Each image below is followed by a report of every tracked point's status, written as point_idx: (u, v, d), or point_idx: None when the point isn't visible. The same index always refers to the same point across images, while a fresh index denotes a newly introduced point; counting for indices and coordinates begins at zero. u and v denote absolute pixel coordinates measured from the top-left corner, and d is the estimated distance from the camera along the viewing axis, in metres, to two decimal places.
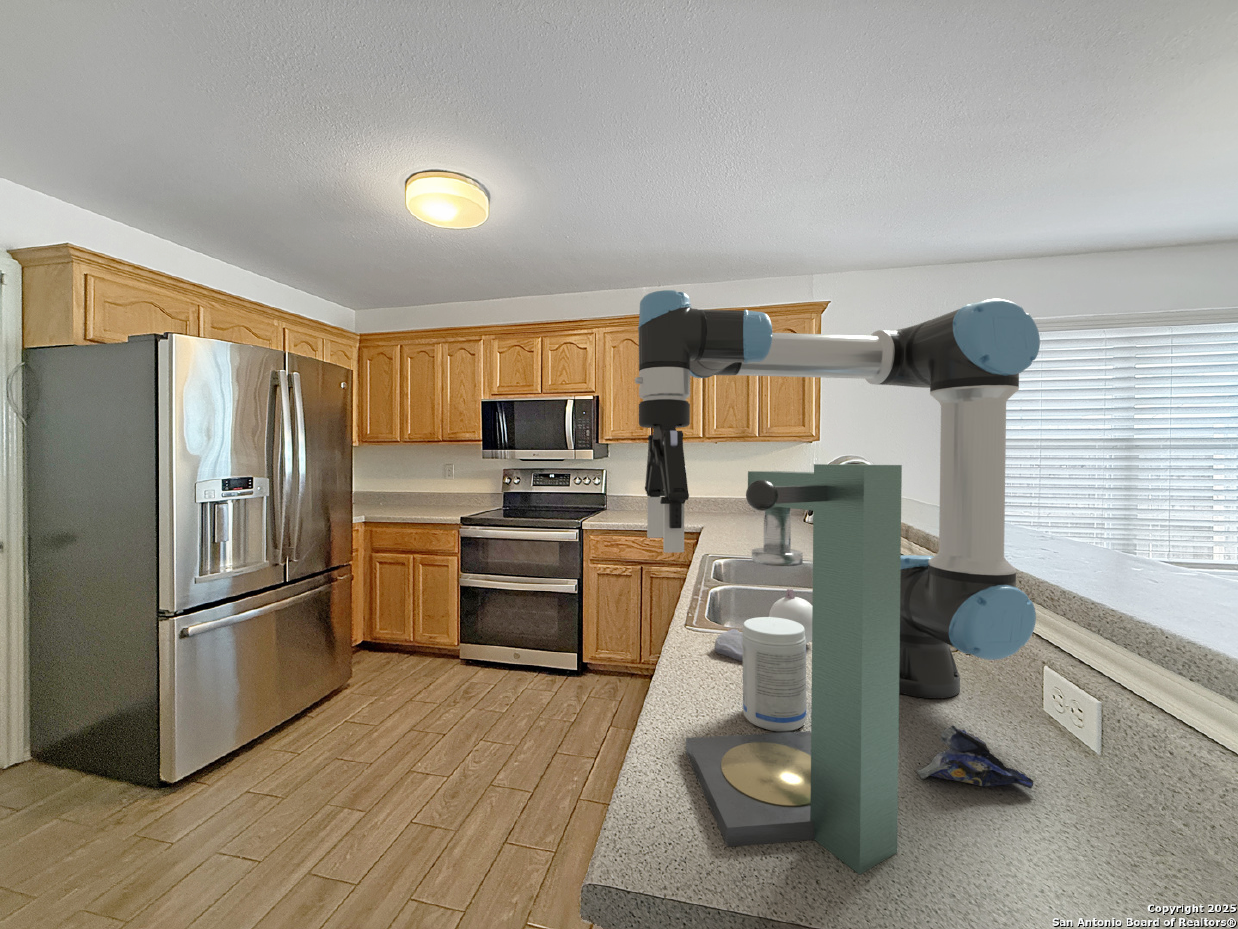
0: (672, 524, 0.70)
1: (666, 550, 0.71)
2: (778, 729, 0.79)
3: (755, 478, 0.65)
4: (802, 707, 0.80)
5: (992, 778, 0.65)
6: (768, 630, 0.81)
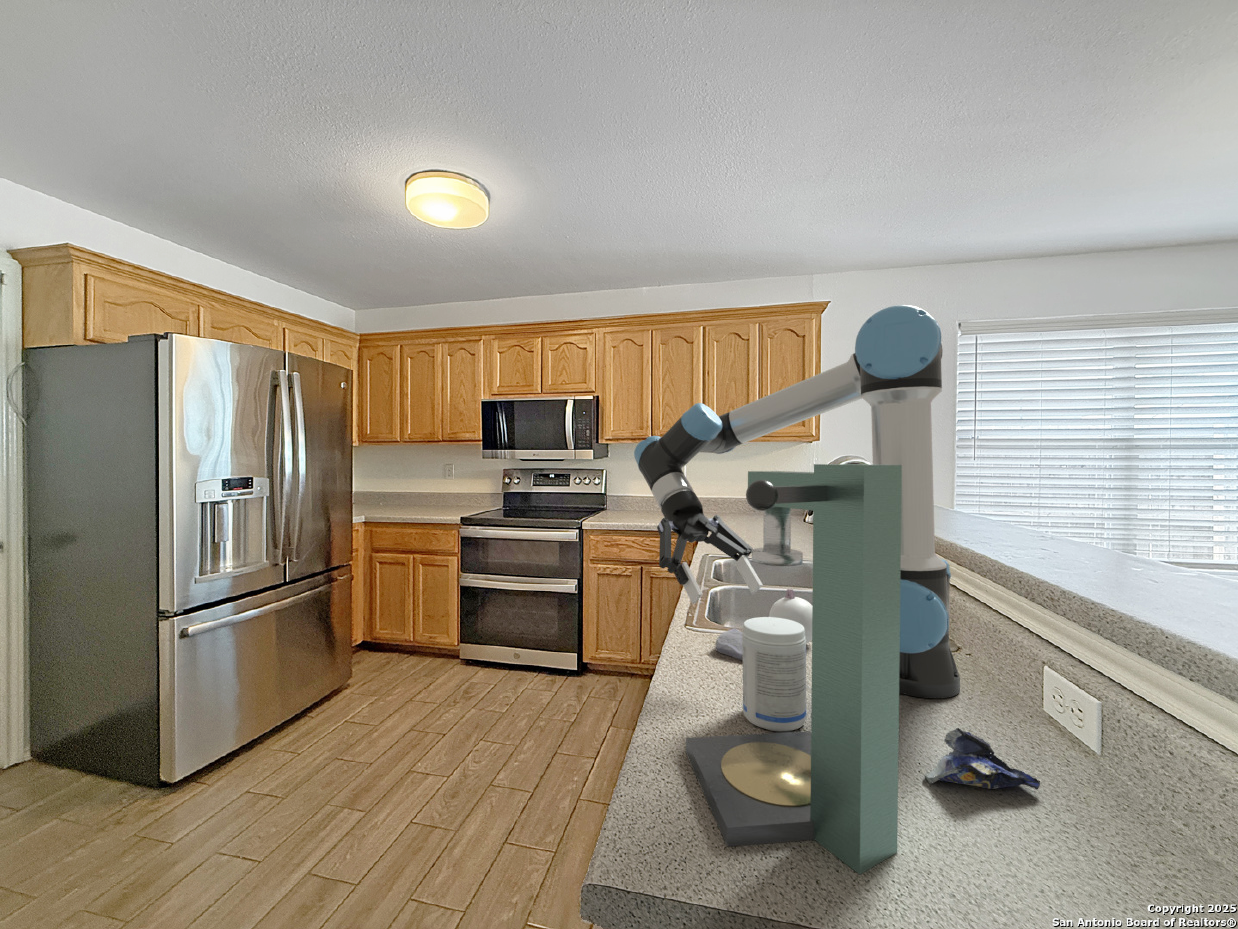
0: (678, 581, 0.91)
1: (691, 601, 0.90)
2: (778, 729, 0.79)
3: (755, 478, 0.65)
4: (802, 707, 0.80)
5: (1001, 780, 0.65)
6: (767, 630, 0.81)
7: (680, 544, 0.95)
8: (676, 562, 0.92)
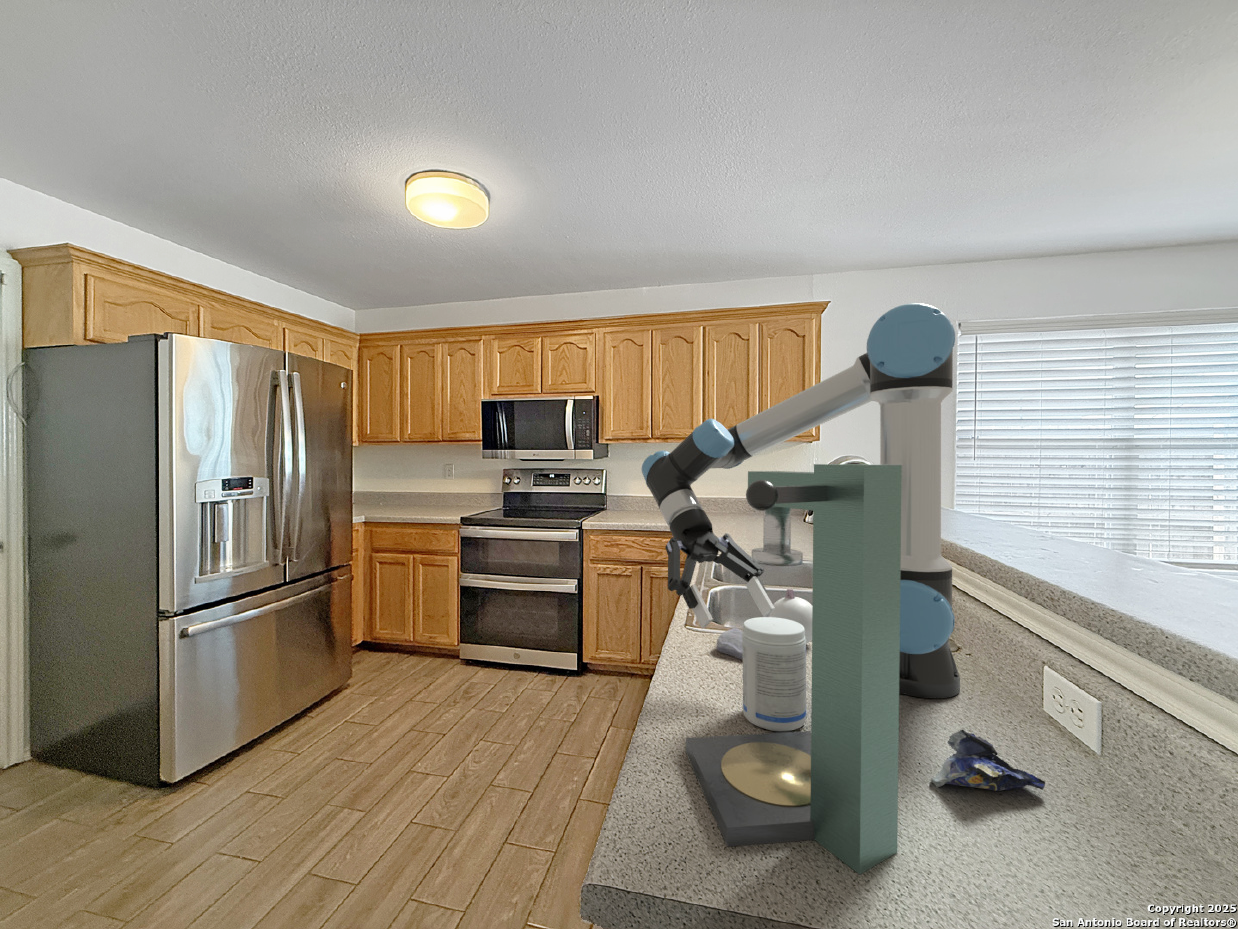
0: (688, 605, 0.88)
1: (701, 626, 0.87)
2: (778, 729, 0.79)
3: (755, 478, 0.65)
4: (802, 707, 0.80)
5: (1007, 781, 0.64)
6: (767, 630, 0.81)
7: (689, 565, 0.92)
8: (685, 585, 0.89)
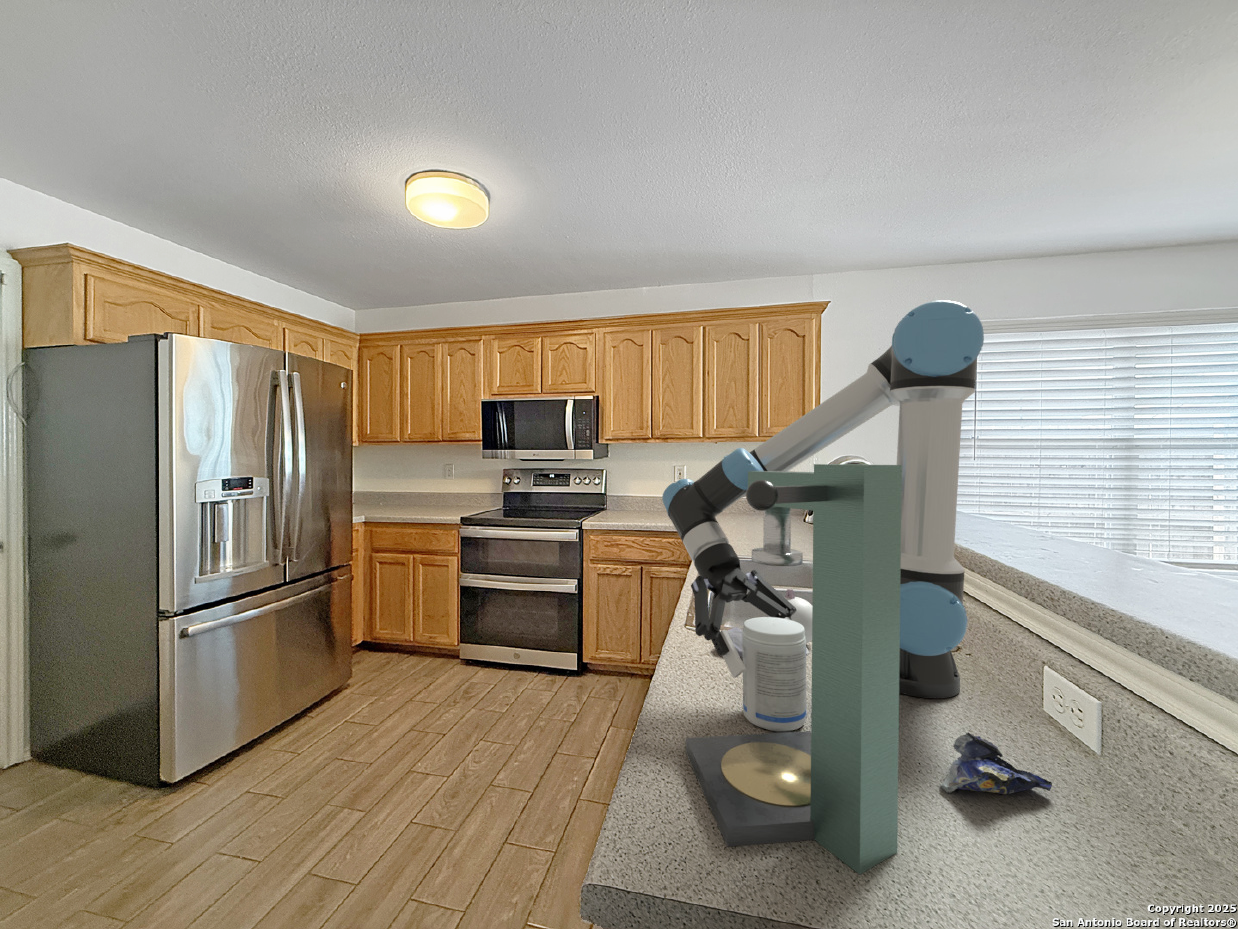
0: (718, 652, 0.82)
1: (733, 675, 0.80)
2: (778, 729, 0.79)
3: (755, 478, 0.65)
4: (802, 707, 0.80)
5: (1016, 784, 0.64)
6: (767, 630, 0.81)
7: (718, 607, 0.86)
8: (715, 630, 0.82)
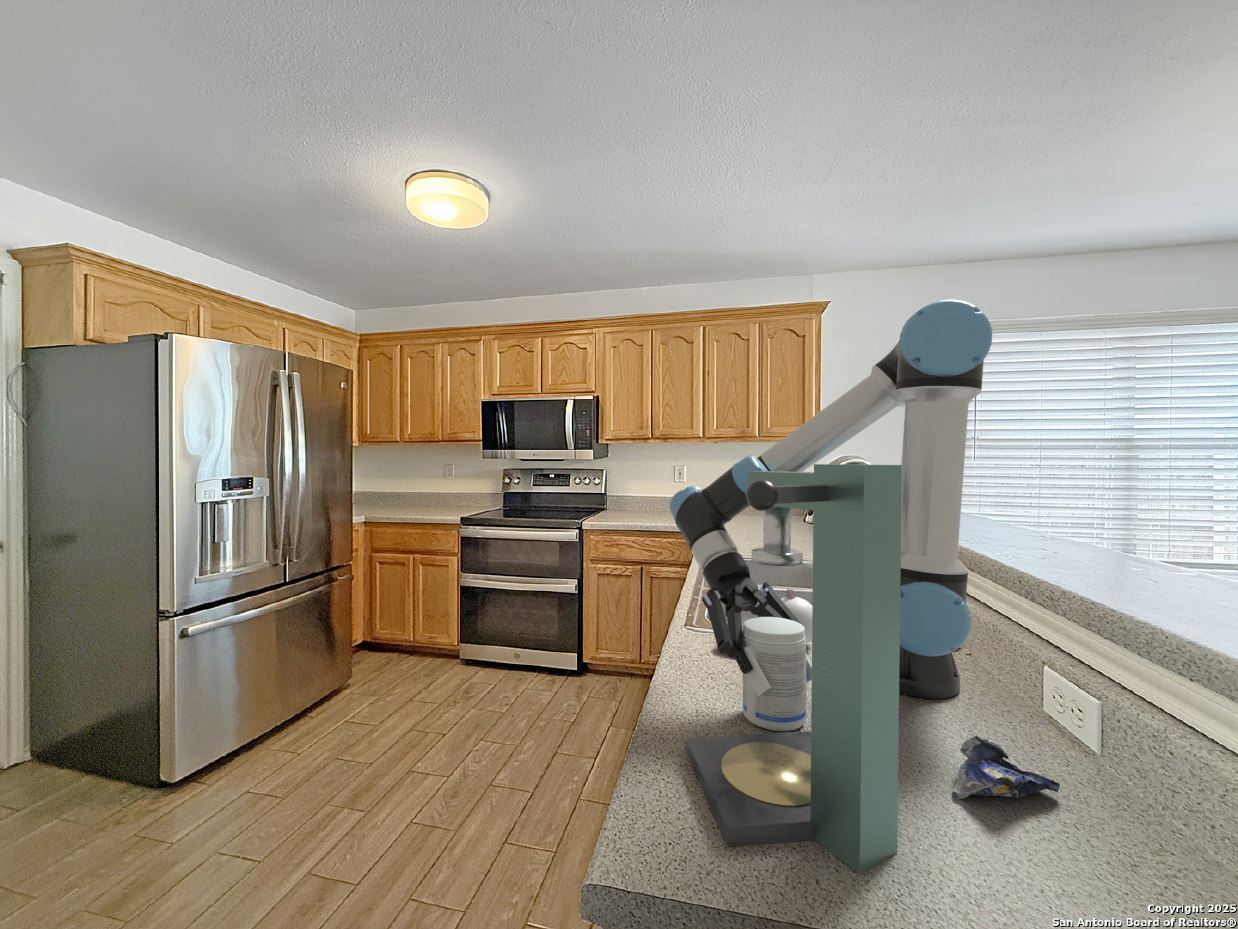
0: (741, 670, 0.80)
1: (757, 694, 0.79)
2: (778, 729, 0.79)
3: (755, 478, 0.65)
4: (802, 707, 0.80)
5: (1027, 787, 0.63)
6: (768, 630, 0.81)
7: (736, 622, 0.84)
8: (739, 648, 0.81)
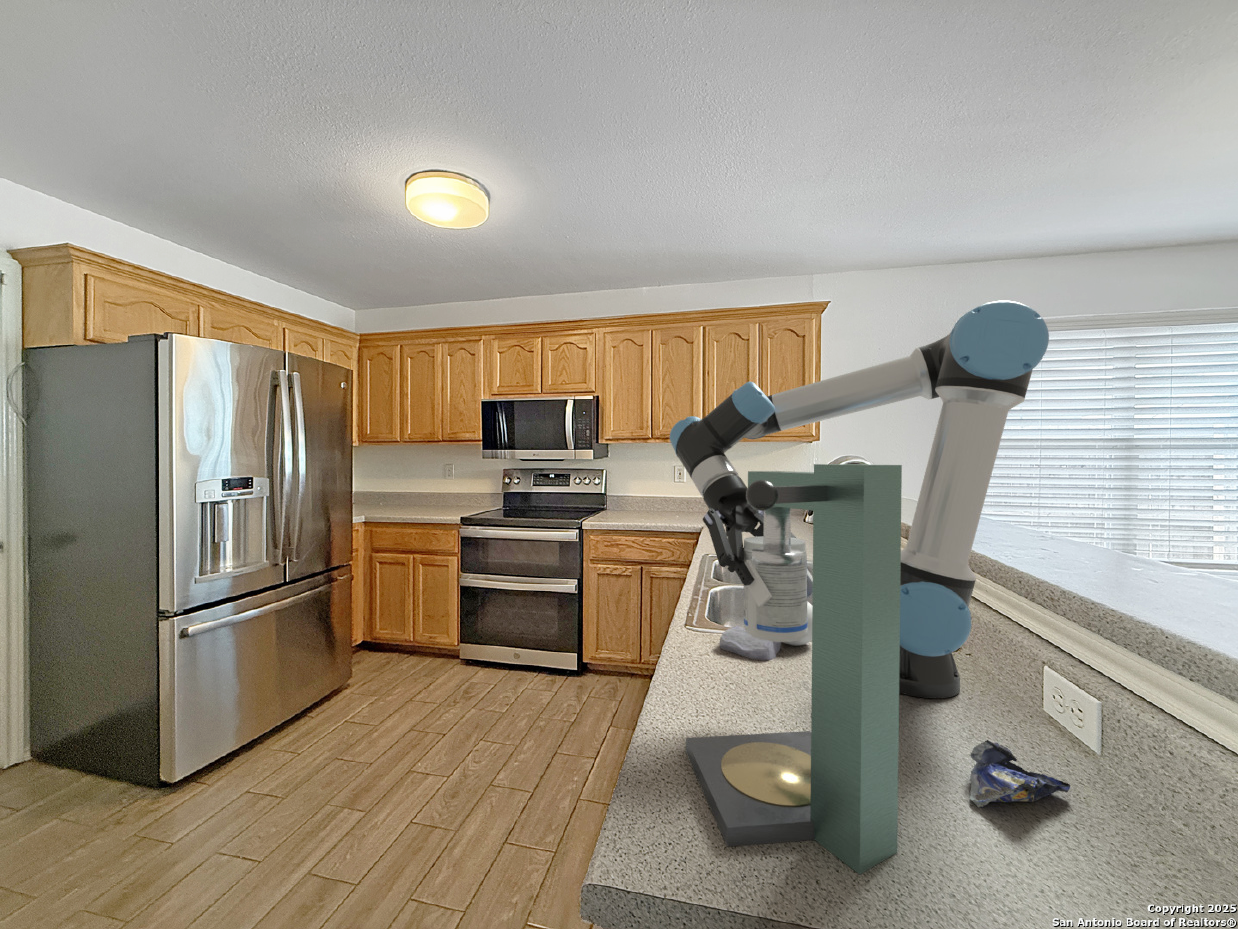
0: (742, 582, 0.80)
1: (758, 604, 0.79)
2: (779, 639, 0.79)
3: (755, 478, 0.65)
4: (803, 618, 0.80)
5: (1041, 790, 0.63)
6: None
7: (737, 538, 0.84)
8: (740, 560, 0.81)
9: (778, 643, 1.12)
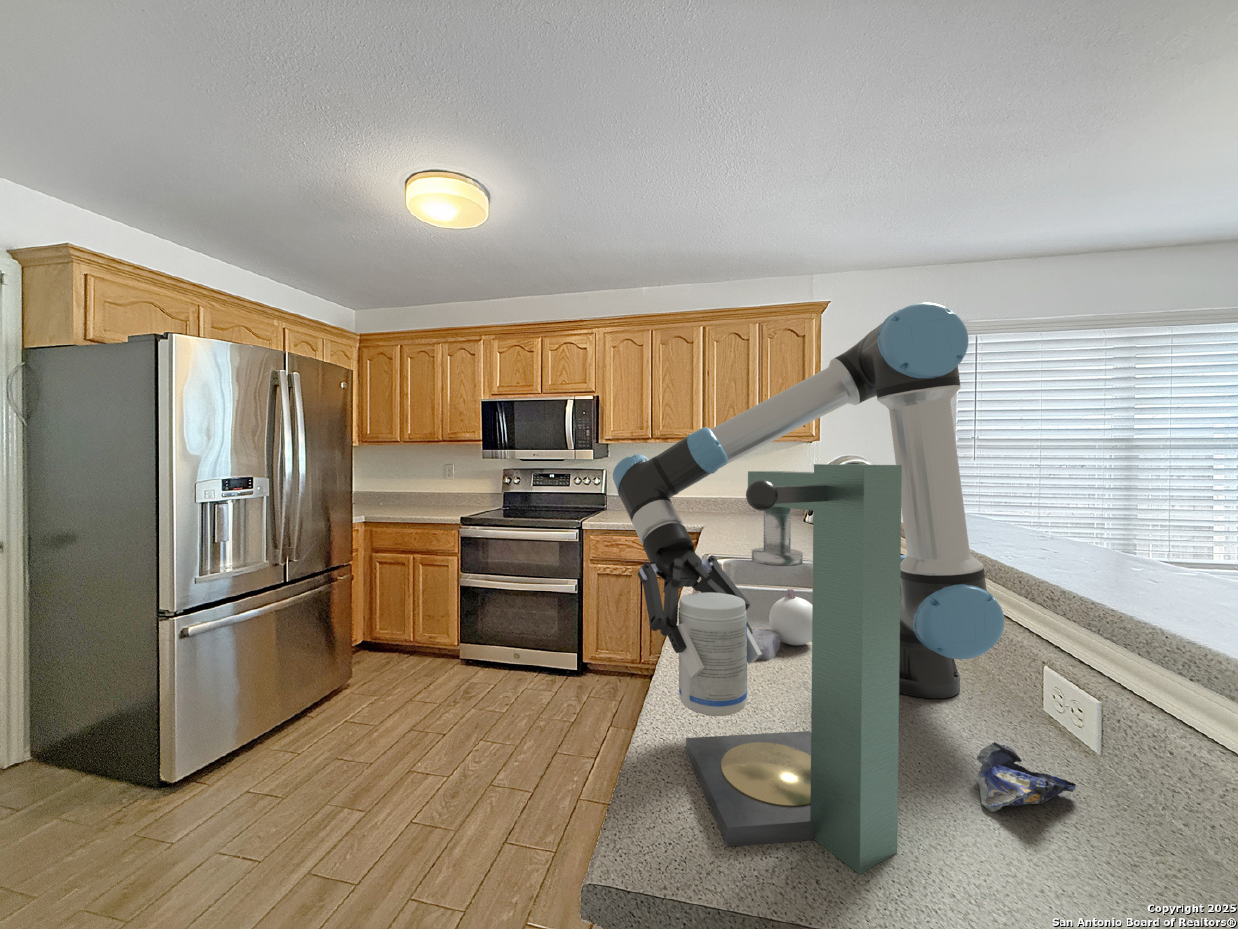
0: (674, 649, 0.72)
1: (690, 675, 0.71)
2: (713, 713, 0.71)
3: (755, 478, 0.65)
4: (741, 690, 0.72)
5: (1050, 792, 0.62)
6: (703, 604, 0.73)
7: (671, 597, 0.76)
8: (672, 624, 0.73)
9: (778, 643, 1.12)
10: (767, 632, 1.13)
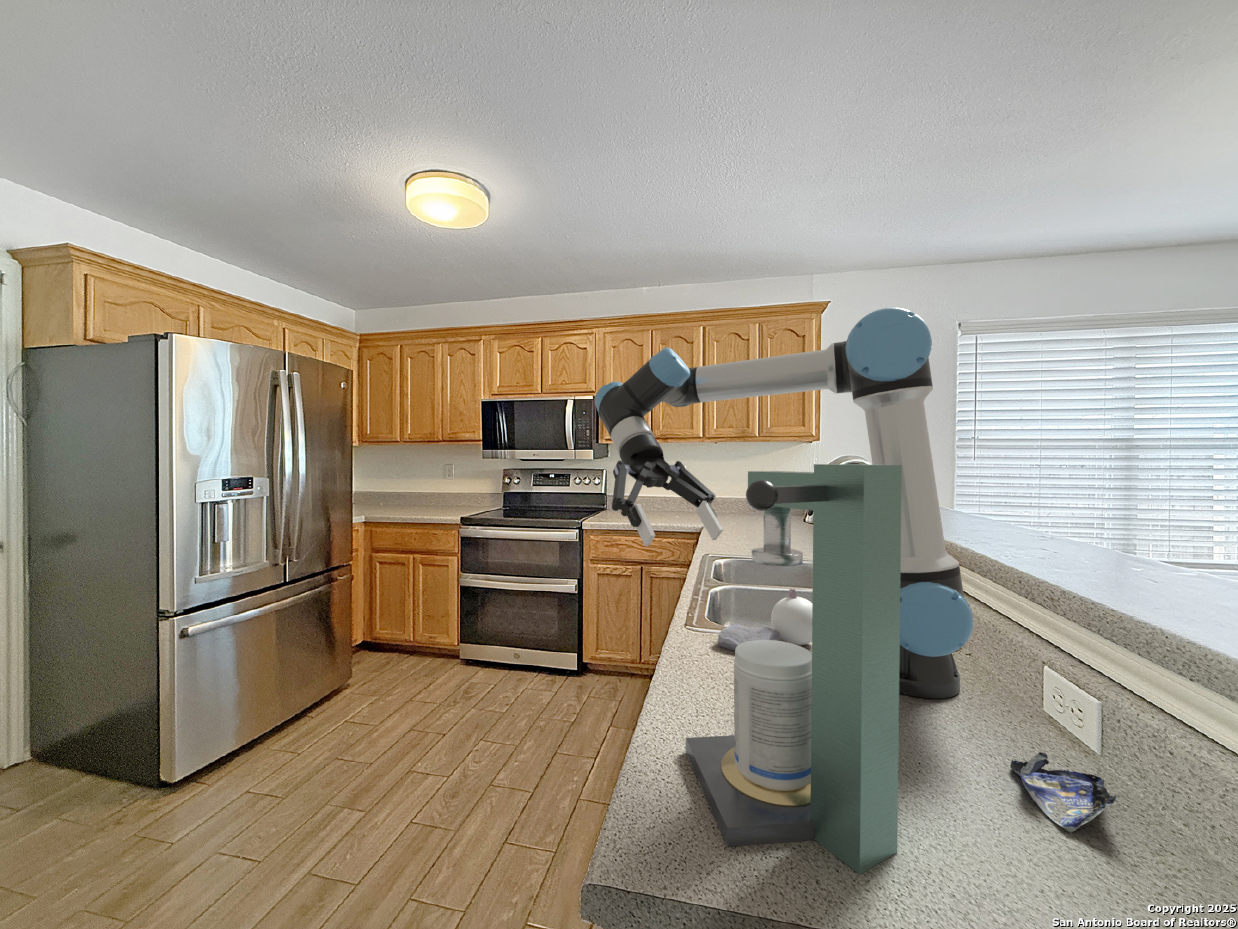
0: (631, 523, 0.85)
1: (644, 543, 0.84)
2: (778, 788, 0.61)
3: (755, 478, 0.65)
4: (810, 759, 0.62)
5: None
6: (765, 659, 0.63)
7: (635, 486, 0.89)
8: (629, 503, 0.86)
9: None
10: (765, 630, 1.14)
